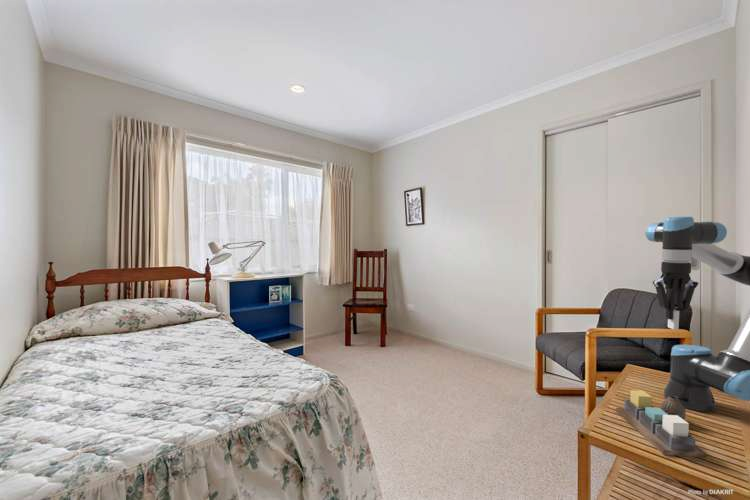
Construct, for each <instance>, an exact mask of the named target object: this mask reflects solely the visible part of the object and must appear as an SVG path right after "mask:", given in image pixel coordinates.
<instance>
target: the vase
mask: <svg viewBox="0 0 750 500" xmlns="http://www.w3.org/2000/svg"><path fill="white" fill-rule="evenodd" d="M659 408H660V409H661V410H663V411H664V412H665V413H667V414H668V415H678V416H679V417H680V418H682V419H683V420H685V419H686V416H687V414H686V412H687V411H686V408H684V406H683V405H682V404H681V403H680V401H679V400H678V398H677V397H675V396H669V397H668V398H667V399H666V398H664V400H663V401H662V402H661V404H660V407H659Z"/></svg>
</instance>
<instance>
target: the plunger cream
mask: <svg viewBox="0 0 750 500" xmlns="http://www.w3.org/2000/svg"><path fill="white" fill-rule="evenodd" d="M689 427H690V423H689V422H688V421H686V420H685V419H684V420H683V419H682V418H680V417H679V416H678V415H663V422H662V428H663V429H664V430H666V431H667V432H668V433H669V434H671V435H672V436H681V437H688V433H689V430H690V429H689Z"/></svg>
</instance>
